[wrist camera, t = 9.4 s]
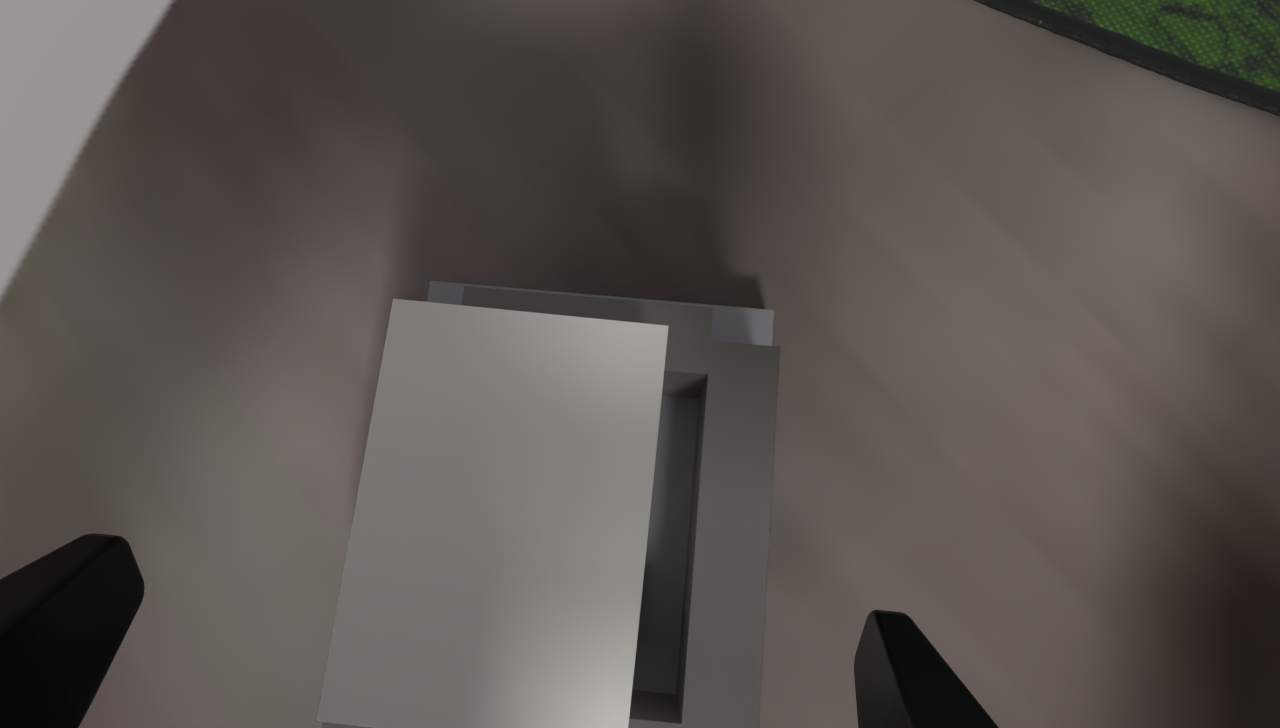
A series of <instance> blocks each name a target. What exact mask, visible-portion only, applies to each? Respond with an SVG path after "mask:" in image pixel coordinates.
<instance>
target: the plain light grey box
mask: <svg viewBox="0 0 1280 728" xmlns="http://www.w3.org/2000/svg"><path fill="white" fill-rule="evenodd" d="M668 327H669V326H666V325H656V324H646V323H636V322H626V321H615V320H605V319H595V318H585V317H575V316H565V315H555V314H544V313H534V312H524V311H514V310H504V309H494V308H484V307H473V306H463V305H453V304H443V303H433V302H423V301H413V300H402V299H393V302H392V308H391V313H390V319H389V324H388V330H387V335H386V341H385V346H384V352H383V357H382V363H381V368H380V374H379V379H378V385H377V390H376V396H375V401H374V407H373V412H372V418H371V423H370V429H369V434H368V440H367V445H366V451H365V456H364V462H363V467H362V473H361V478H360V484H359V489H358V495H357V500H356V506H355V511H354V517H353V522H352V528H351V533H350V539H349V544H348V550H347V555H346V561H345V566H344V572H343V577H342V583H341V588H340V594H339V599H338V605H337V610H336V616H335V621H334V627H333V632H332V638H331V643H330V649H329V654H328V660H327V665H326V671H325V676H324V682H323V687H322V693H321V698H320V704H319V709H318V714H317V720H316V721H317V722H326V723H334V724H343V725H351V726H360V727H369V728H628V726H629V716H630V706H631V697H632V687H633V678H634V668H635V658H636V649H637V639H638V629H639V619H640V609H641V599H642V589H643V579H644V569H645V560H646V550H647V540H648V530H649V520H650V510H651V500H652V490H653V480H654V470H655V460H656V450H657V440H658V430H659V420H660V409H661V399H662V389H663V378H664V368H665V358H666V347H667V337H668Z"/></svg>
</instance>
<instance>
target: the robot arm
mask: <svg viewBox="0 0 1280 728" xmlns="http://www.w3.org/2000/svg"><path fill="white" fill-rule="evenodd" d="M143 595H144V581H143V578H142V575H141V573H140V570H139V568H138V565H137V563H136V560H135V558H134V555H133V553H132V550H131V547H130V545H129V543H128V542H127V540H125V539H124V538H123V537H120V536H115V535H104V534H87V535H83V536H81V537H79V538H77V539H75V540H73V541H71V542H70V543H68V544H66V545H64V546H62V547H60V548H58V549H56V550H55V551H53V552H51V553H49V554H47V555H45V556H43V557H41V558H40V559H38V560H36V561H34V562H32V563H30V564H28V565H26V566H25V567H23V568H21V569H19V570H17V571H15V572H13V573H11V574H10V575H8V576H6V577H4V578H2V579H0V728H78V727H79V725H80V723H81V722H82V720H83V718H84V716H85V714H86V712H87V711H88V709H89V707H90V705H91V703H92V701H93V699H94V697H95V695H96V693H97V691H98V689H99V687H100V685H101V683H102V681H103V679H104V677H105V675H106V673H107V671H108V669H109V667H110V665H111V663H112V661H113V659H114V657H115V655H116V653H117V651H118V649H119V647H120V645H121V643H122V641H123V639H124V637H125V635H126V633H127V631H128V629H129V627H130V625H131V623H132V621H133V619H134V617H135V615H136V613H137V611H138V609H139V607H140V604H141V602H142V599H143ZM854 677H855V689H856V701H857V714H858V726H859V728H998V726H997V725H996V724H995V723H994V721H993V720H992V719H991V718H990V716H989V715H988V714H987V713H986V711H985V710H984V709H983V708H982V706H981V705H980V704H979V703H978V701H977V700H976V699H975V698H974V696H973V695H972V694H971V693H970V691H969V690H968V689H967V688H966V686H965V685H964V684H963V683H962V681H961V680H960V679H959V678H958V676H957V675H956V674H955V673H954V671H953V670H952V669H951V668H950V667H949V665H948V664H947V663H946V662H945V660H944V659H943V658H942V657H941V655H940V654H939V653H938V652H937V650H936V649H935V648H934V647H933V645H932V644H931V643H930V642H929V640H928V639H927V638H926V637H925V635H924V634H923V633H922V632H921V630H920V629H919V628H918V627H917V625H916V624H915V623H914V622H913V620H912V619H911V618H910V617H909V616H908V615H906V614H904V613H901V612H893V611H883V610H873V611H871V612H870V614H869V615H868V617H867V620H866V623H865V626H864V629H863V632H862V635H861V639H860V642H859V645H858V648H857V651H856V655H855V663H854Z"/></svg>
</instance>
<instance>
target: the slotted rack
mask: <svg viewBox="0 0 1280 728" xmlns="http://www.w3.org/2000/svg"><path fill="white" fill-rule="evenodd" d="M427 302H433V303H443V304H453V305H463V306H473V307H484V308H494V309H504V310H514V311H524V312H534V313H544V314H555V315H565V316H575V317H585V318H595V319H605V320H615V321H626V322H636V323H646V324H656V325H666V326H669V327H668V337H667V347H666V358H665V368H664V378H663V389H662V399H661V409H660V420H659V430H658V440H657V450H656V460H655V470H654V480H653V490H652V500H651V510H650V520H649V530H648V540H647V550H646V560H645V569H644V579H643V589H642V599H641V609H640V619H639V629H638V639H637V649H636V658H635V668H634V678H633V687H632V697H631V706H630V716H629V726H628V728H759V715H760V697H761V679H762V661H763V643H764V625H765V607H766V589H767V570H768V552H769V534H770V516H771V498H772V480H773V462H774V444H775V426H776V408H777V390H778V372H779V354H780V347H778V346H772V337H773V320H774V310H767V309H756V308H744V307H732V306H721V305H709V304H697V303H686V302H674V301H663V300H651V299H639V298H628V297H616V296H604V295H593V294H581V293H570V292H558V291H546V290H535V289H523V288H511V287H500V286H488V285H476V284H465V283H453V282H442V281H430V284H429V290H428V296H427ZM322 728H369V727H360V726H351V725H343V724H334V723H326V722H323V725H322Z"/></svg>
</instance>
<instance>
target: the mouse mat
mask: <svg viewBox="0 0 1280 728" xmlns="http://www.w3.org/2000/svg"><path fill="white" fill-rule="evenodd" d="M974 1H977V2H979V3H982V4H984V5H986V6H988V7H990V8H993V9H995V10H998V11H1001V12H1003V13H1006V14H1008V15H1010V16H1013V17H1015V18H1018V19H1021V20H1024V21H1026V22H1029V23H1031V24H1033V25H1036V26H1038V27H1041V28H1044V29H1047V30H1049V31H1050V32H1053V33H1055V34H1058V35H1061V36H1064V37H1067V38H1070V39H1072V40H1075V41H1077V42H1080V43H1082V44H1085V45H1087V46H1090V47H1093V48H1096V49H1098V50H1100V51H1101V52H1103V53H1106V54H1108V55H1111V56H1114V57H1117V58H1120V59H1123V60H1126V61H1128V62H1130V63H1132V64H1135V65H1137V66H1139V67H1142V68H1145V69H1148V70H1151V71H1154V72H1156V73H1158V74H1160V75H1164V76H1167V77H1169V78H1171V79H1173V80H1176V81H1178V82H1181V83H1183V84H1186V85H1189V86H1192V87H1195V88H1198V89H1201V90H1204V91H1207V92H1210V93H1213V94H1216V95H1219V96H1222V97H1225V98H1228V99H1231V100H1234V101H1237V102H1239V103H1243V104H1246V105H1249V106H1252V107H1255V108H1257V109H1260V110H1263V111H1266V112H1269V113H1272V114H1275V115H1277V116H1280V0H974Z"/></svg>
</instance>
